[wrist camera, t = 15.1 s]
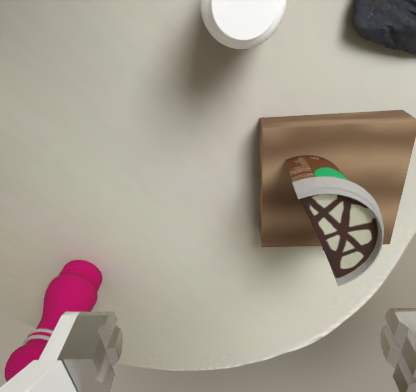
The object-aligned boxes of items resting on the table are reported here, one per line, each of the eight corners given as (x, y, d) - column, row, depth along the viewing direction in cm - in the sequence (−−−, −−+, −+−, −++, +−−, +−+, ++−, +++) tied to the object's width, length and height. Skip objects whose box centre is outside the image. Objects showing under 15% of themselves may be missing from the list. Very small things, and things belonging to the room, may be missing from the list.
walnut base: (259, 118, 40) (262, 129, 36) (402, 110, 38) (419, 121, 35) (259, 229, 48) (262, 247, 44) (377, 225, 46) (389, 244, 43)
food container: (367, 212, 41) (404, 270, 32) (317, 230, 43) (339, 290, 34) (335, 124, 36) (369, 164, 27) (280, 148, 37) (295, 193, 29)
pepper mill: (83, 296, 57) (19, 426, 40) (51, 269, 54) (-34, 396, 37) (114, 280, 54) (61, 410, 37) (82, 250, 52) (8, 376, 34)
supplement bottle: (232, 52, 36) (233, 75, 25) (193, -4, 34) (175, -5, 23) (286, 7, 34) (313, 12, 23) (247, -56, 32) (257, -85, 21)
